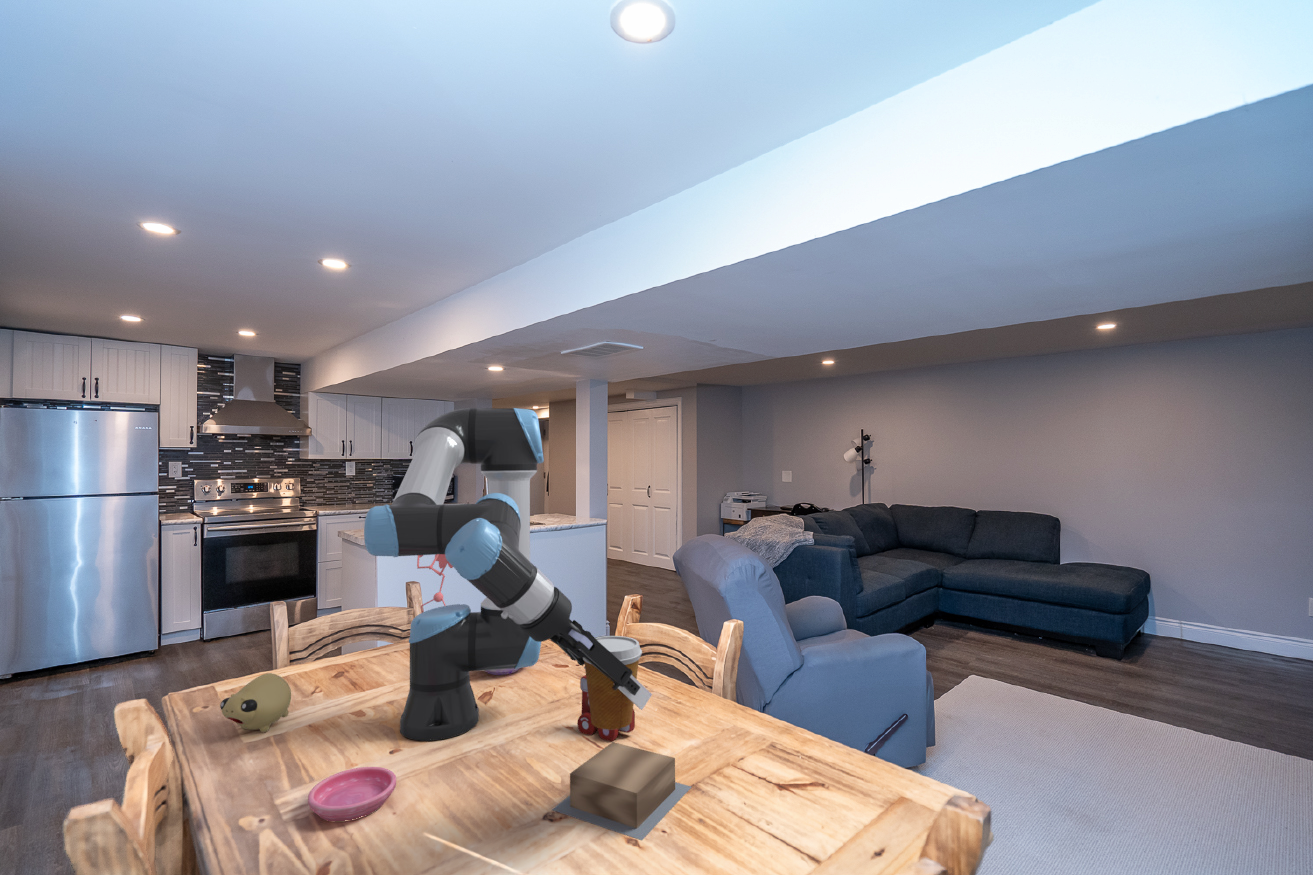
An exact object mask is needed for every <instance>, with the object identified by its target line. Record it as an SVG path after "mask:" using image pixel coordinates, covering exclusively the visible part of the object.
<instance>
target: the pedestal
mask: <svg viewBox="0 0 1313 875" xmlns="http://www.w3.org/2000/svg"><path fill="white" fill-rule="evenodd" d="M675 782H676V757H673V756H669V755H666V754H661V753H657V752H653V751H649V750H645V749H641V748H637V747H634V746H629V745H626V744H622V743H618V742H614V741H611V743H609V744H608V745H607V746H605V747H604V748H603V749H601V750H600V751H598V752H597V753H595V755H593V756H591V757H590V758H588V759H587V760H586V761H585V762H583V763H582V764H581V765H580V766H578V767H576V768H575V769H574V770H573V771H571V772H570V773H569V796H570V807H573V808H576V809H579V810H582V811H585V812H588V813H591V814H594V815H597V816H600V817H603V818H607V819H610V820H613V821H616V822H619V823H622V824H625V825H628V826H631V827H634V828H638V827H639V826H640V825H641V824H642V823H643V822H644V821H645V820H646V819H647V818H648V817H649V816H650V815H651V814H652V813H653V812H654V811H655V810H656V809H657V808H658V807H659V806H660V805H661V804H662V802H663V801H664V800H665V799H666V798H667V797H668V796H669V795H670V794H671V793H672V792H673V791H674V790H675Z"/></svg>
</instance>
